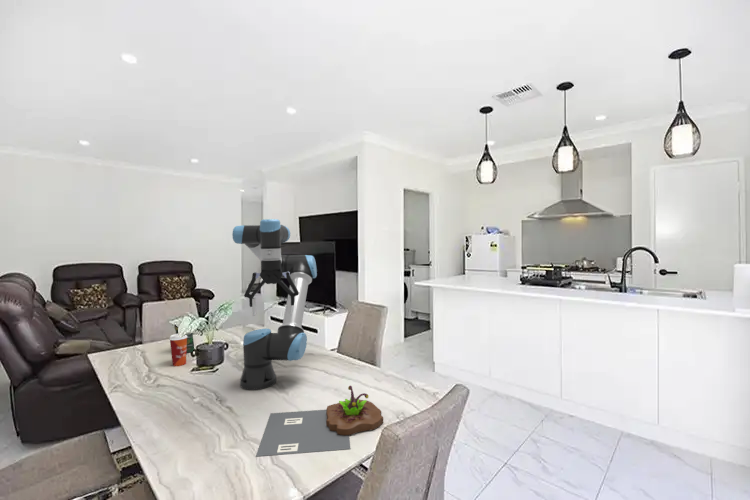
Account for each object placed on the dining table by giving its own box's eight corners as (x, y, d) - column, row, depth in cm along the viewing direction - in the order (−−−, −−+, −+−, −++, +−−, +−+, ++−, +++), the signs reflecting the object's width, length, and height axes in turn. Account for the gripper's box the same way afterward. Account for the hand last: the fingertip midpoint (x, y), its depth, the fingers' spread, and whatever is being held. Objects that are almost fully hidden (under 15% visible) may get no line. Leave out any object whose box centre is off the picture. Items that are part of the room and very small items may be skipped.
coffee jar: (177, 355, 199) (176, 322, 198) (173, 352, 205) (172, 319, 204) (196, 351, 205) (195, 319, 205) (192, 348, 211) (191, 316, 210)
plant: (369, 402, 142) (369, 373, 141) (389, 427, 123) (389, 394, 123) (319, 411, 135) (318, 381, 134) (332, 439, 116) (332, 404, 116)
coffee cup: (180, 367, 181) (179, 337, 180) (166, 366, 183) (165, 337, 182) (192, 361, 189) (191, 333, 188) (178, 360, 191) (177, 332, 190)
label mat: (255, 456, 108) (255, 456, 108) (270, 413, 134) (270, 413, 134) (350, 449, 111) (350, 448, 111) (347, 408, 137) (347, 407, 137)
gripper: (234, 261, 135) (236, 317, 136) (303, 259, 138) (304, 315, 139) (239, 259, 142) (241, 313, 143) (304, 258, 145) (305, 311, 146)
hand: (272, 314), depth 141 cm, fingers open, 13 cm apart
